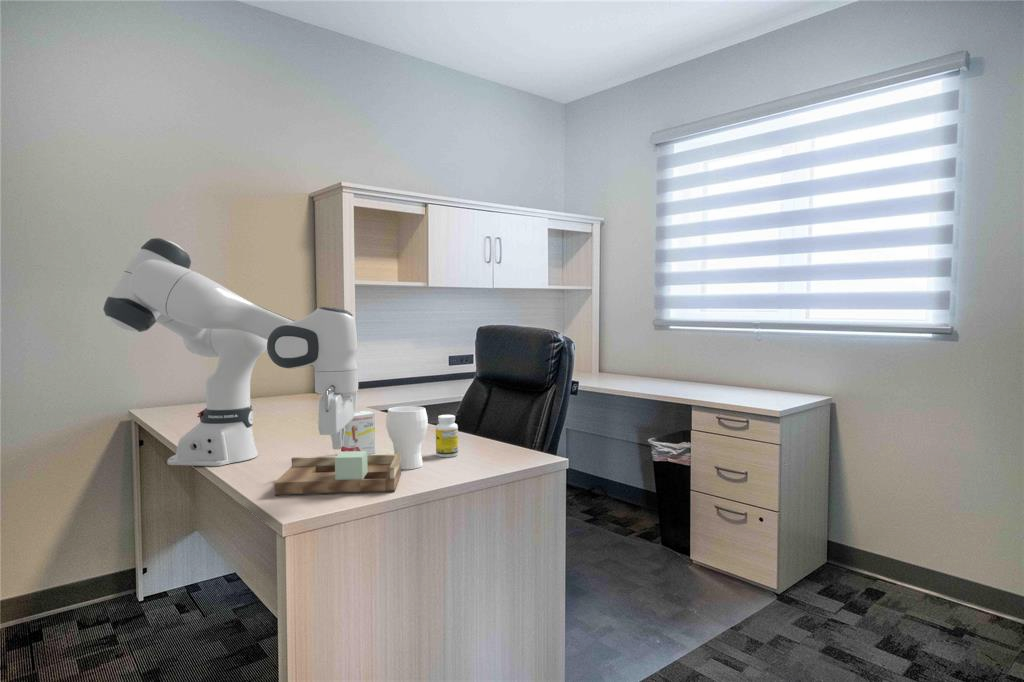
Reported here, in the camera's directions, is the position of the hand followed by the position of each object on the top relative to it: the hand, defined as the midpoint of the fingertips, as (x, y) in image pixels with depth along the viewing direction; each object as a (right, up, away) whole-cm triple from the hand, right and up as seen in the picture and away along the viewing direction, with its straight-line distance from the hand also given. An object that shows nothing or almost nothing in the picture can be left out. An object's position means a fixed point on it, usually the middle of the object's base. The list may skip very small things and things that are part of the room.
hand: (338, 448), depth 131 cm
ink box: (-6, -9, +42) cm, 44 cm away
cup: (+10, -10, +29) cm, 32 cm away
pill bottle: (+19, -9, +41) cm, 46 cm away
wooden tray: (-3, -11, +12) cm, 16 cm away
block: (+1, -8, +8) cm, 11 cm away
